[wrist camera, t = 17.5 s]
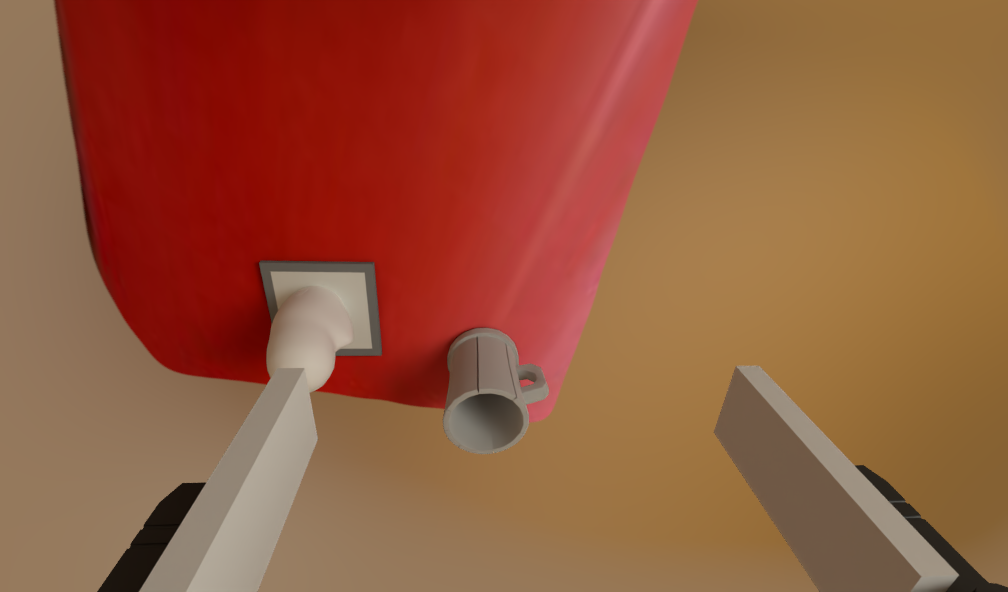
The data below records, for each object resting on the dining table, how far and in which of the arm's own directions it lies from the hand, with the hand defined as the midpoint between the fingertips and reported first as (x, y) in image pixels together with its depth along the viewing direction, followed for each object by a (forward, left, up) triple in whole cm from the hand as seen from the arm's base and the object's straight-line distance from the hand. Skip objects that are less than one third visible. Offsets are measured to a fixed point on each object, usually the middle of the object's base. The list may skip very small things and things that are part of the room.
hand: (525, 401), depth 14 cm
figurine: (+17, -18, -36) cm, 44 cm away
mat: (+17, -18, -37) cm, 44 cm away
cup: (+23, +1, -37) cm, 43 cm away
